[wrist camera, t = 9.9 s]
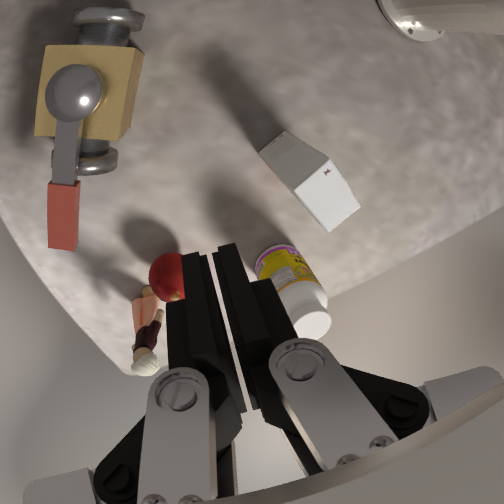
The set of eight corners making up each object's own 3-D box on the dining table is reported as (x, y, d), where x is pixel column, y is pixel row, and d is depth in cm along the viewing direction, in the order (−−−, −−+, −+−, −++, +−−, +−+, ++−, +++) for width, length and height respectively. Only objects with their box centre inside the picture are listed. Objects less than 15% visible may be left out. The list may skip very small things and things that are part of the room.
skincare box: (255, 153, 36) (291, 189, 26) (284, 129, 35) (330, 155, 25) (287, 189, 39) (328, 235, 29) (313, 166, 38) (363, 205, 28)
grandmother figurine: (139, 276, 40) (134, 348, 30) (167, 284, 42) (170, 356, 31) (126, 318, 43) (121, 390, 33) (151, 324, 45) (152, 396, 34)
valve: (80, 18, 23) (56, 5, 16) (152, 21, 25) (146, 6, 19) (59, 153, 30) (32, 176, 23) (125, 159, 33) (113, 182, 26)
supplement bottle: (307, 266, 46) (347, 328, 35) (268, 291, 46) (297, 358, 36) (287, 232, 42) (328, 293, 32) (244, 259, 43) (271, 327, 32)
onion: (169, 286, 42) (171, 328, 36) (140, 258, 39) (136, 298, 33) (204, 263, 42) (212, 302, 35) (176, 231, 39) (178, 268, 32)
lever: (59, 63, 19) (50, 63, 17) (110, 66, 21) (105, 65, 19) (45, 235, 26) (38, 247, 24) (89, 240, 28) (84, 253, 26)
